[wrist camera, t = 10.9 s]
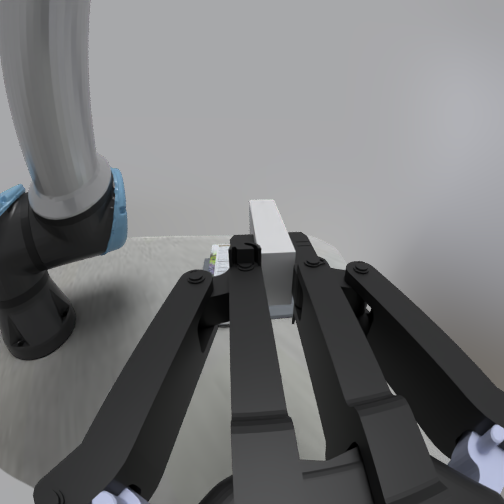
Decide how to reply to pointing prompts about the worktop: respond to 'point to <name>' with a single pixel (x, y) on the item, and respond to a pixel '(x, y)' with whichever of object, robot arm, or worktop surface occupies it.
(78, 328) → the worktop surface
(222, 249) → the syrup box
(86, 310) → the worktop surface
